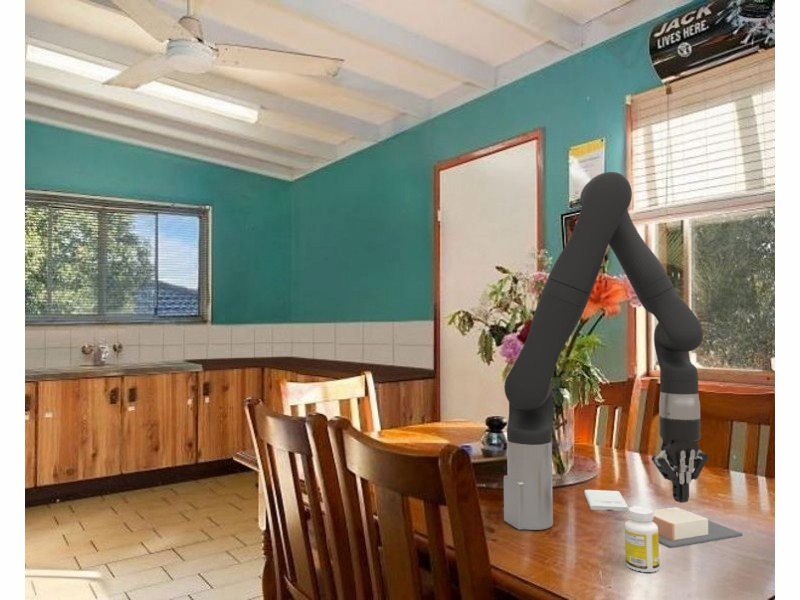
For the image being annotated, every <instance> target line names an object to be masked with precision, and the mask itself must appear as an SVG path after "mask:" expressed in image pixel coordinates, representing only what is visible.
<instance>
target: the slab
mask: <svg viewBox="0 0 800 600" xmlns="http://www.w3.org/2000/svg"><path fill="white" fill-rule="evenodd" d="M652 510H653V509H652ZM653 516H654V518H653V520H652V522H654V523H655V524H656V525H657V527H658V534H659V535H661V536H663V537H666V538H668V539H670V540H672V541H673V540H678V539H684V538H690V537H696V536H702V535H708V520H709V519H708V518H707V517H705V516H701V515H698V514H696V513H694V512H691V511H688V510H685V509H683V508H681V507H678V506H674V507H667V508H660V509H654V510H653Z"/></svg>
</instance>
